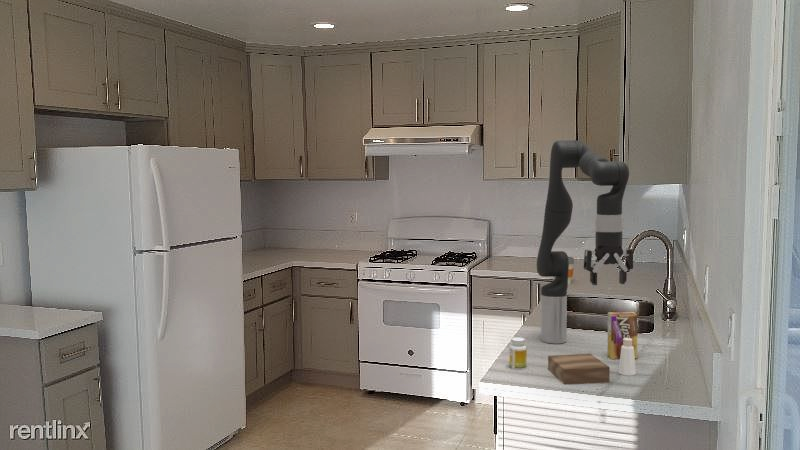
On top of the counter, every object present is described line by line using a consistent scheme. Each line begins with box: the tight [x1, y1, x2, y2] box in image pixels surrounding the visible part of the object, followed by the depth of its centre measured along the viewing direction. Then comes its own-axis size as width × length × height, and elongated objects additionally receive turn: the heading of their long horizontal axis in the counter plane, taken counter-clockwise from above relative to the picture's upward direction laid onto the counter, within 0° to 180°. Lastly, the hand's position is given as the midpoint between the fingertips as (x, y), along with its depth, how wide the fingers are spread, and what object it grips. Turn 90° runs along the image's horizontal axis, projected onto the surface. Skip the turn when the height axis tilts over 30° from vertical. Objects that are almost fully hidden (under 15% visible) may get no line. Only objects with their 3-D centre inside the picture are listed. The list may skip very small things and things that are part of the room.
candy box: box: [607, 311, 638, 360], centre depth 213 cm, size 9×4×15 cm, turn 89°
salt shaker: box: [618, 338, 637, 377], centre depth 197 cm, size 5×5×11 cm
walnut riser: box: [547, 353, 611, 385], centre depth 195 cm, size 14×14×5 cm
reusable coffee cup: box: [552, 256, 575, 285], centre depth 345 cm, size 13×12×15 cm
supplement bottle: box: [508, 337, 528, 371], centre depth 203 cm, size 5×5×10 cm
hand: (608, 284), depth 186 cm, fingers open, 8 cm apart
